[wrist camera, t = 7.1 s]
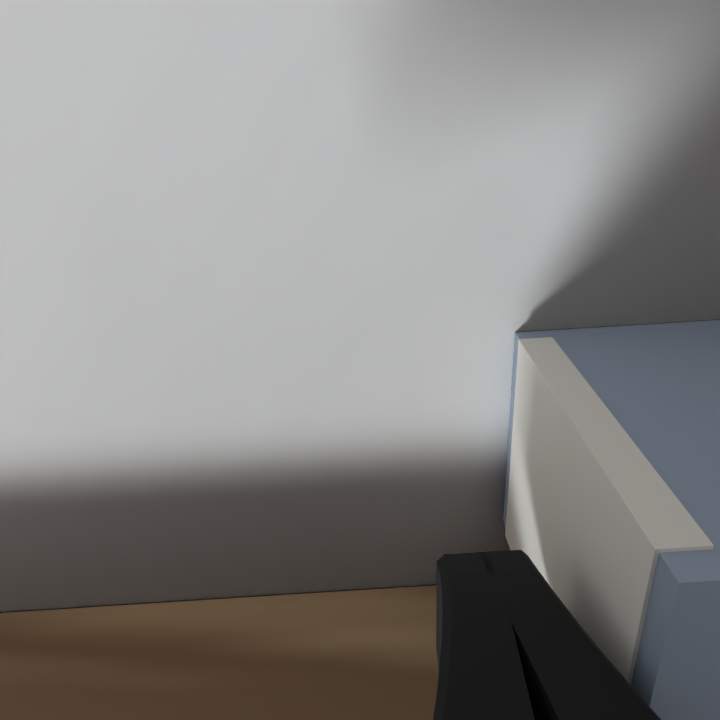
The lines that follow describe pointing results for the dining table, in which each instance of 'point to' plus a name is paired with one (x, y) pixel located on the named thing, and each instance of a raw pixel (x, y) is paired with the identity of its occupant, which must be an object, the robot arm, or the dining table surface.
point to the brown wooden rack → (226, 659)
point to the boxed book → (626, 496)
